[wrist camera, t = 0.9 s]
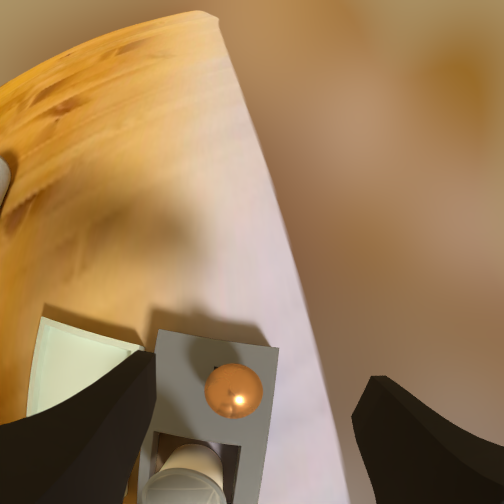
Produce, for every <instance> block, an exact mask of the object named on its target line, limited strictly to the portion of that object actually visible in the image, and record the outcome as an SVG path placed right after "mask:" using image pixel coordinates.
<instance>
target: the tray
mask: <svg viewBox="0 0 504 504" xmlns="http://www.w3.org/2000/svg"><path fill="white" fill-rule="evenodd" d="M144 349H145V347H143V346H140V345H137V344H132V343H128V342H124V341H121V340H117V339H113V338H109V337H106V336H102V335H98V334H95V333H92V332H88V331H85V330H82V329H78V328H75V327H72V326H69V325H66V324H63V323H60V322H57V321H54V320H51V319H48V318H45V317H41V321H40V325H39V330H38V335H37V339H36V345H35V350H34V356H33V362H32V368H31V375H30V383H29V391H28V401H27V414H26V417H29V416H32V415H34V414H37V413H40V412H42V411H45V410H47V409H49V408H51V407H53V406H55V405H57V404H59V403H61V402H63V401H65V400H67V399H68V398H70V397H72V396H73V395H75V394H77V393H78V392H80V391H81V390H83V389H85V388H86V387H88V386H89V385H91V384H92V383H94V382H95V381H97V380H98V379H99V378H101V377H102V376H104V375H105V374H106V373H108V372H109V371H110V370H112V369H113V368H114V367H116V366H117V365H118V364H120V363H121V362H122V361H123V360H125V359H126V358H127V357H129V356H130V355H131V354H132V353H134V352H135V351H137V350H142V351H144ZM127 492H128V483H127V486H126V490H125V495H124V497H125V496H126V495H127Z"/></svg>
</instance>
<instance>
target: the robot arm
mask: <svg viewBox="0 0 504 504" xmlns="http://www.w3.org/2000/svg"><path fill="white" fill-rule="evenodd" d="M156 400H157V391H156V354H155V353H151V352H146V351H142V350H137V351H135V352H134V353H132V354H131V355H130V356H129V357H127V358H126V359H125V360H123V361H122V362H121V363H120V364H118V365H117V366H116V367H114V368H113V369H112V370H110V371H109V372H108V373H106V374H105V375H104V376H102V377H101V378H99V379H98V380H97V381H95V382H94V383H92V384H91V385H89V386H88V387H86V388H85V389H83V390H81V391H80V392H78V393H77V394H75V395H73V396H72V397H70V398H68V399H67V400H65V401H63V402H61V403H59V404H57V405H55V406H53V407H51V408H49V409H47V410H45V411H42V412H40V413H37V414H34V415H32V416H29V417H26V418H23V419H20V420H17V421H15V422H11V423H7V424H3V425H0V504H122V503H123V499H124V495H125V490H126V486H127V483H128V480H129V477H130V474H131V471H132V468H133V466H134V463H135V461H136V458H137V456H138V453H139V451H140V448H141V446H142V443H143V441H144V438H145V436H146V433H147V431H148V428H149V426H150V423H151V419H152V415H153V412H154V408H155V404H156ZM351 417H352V423H353V429H354V433H355V438H356V442H357V444H358V447H359V450H360V453H361V456H362V459H363V461H364V464H365V467H366V469H367V473H368V475H369V478H370V481H371V484H372V487H373V490H374V494H375V498H376V503H377V504H504V447H503V446H500V445H497V444H494V443H492V442H489V441H486V440H484V439H481V438H479V437H477V436H475V435H473V434H471V433H469V432H467V431H465V430H463V429H461V428H460V427H458V426H456V425H454V424H453V423H451V422H449V421H448V420H446V419H445V418H443V417H442V416H441V415H439V414H438V413H436V412H435V411H433V410H432V409H431V408H429V407H428V406H426V405H425V404H424V403H422V402H421V401H420V400H418V399H417V398H416V397H414V396H413V395H412V394H411V393H409V392H408V391H407V390H405V389H404V388H403V387H401V386H400V385H398V384H397V383H396V382H394V381H393V380H391V379H390V378H388V377H387V376H371V377H370V379H369V382H368V384H367V386H366V388H365V390H364V392H363V394H362V396H361V398H360V400H359V402H358V404H357V406H356V408H355V410H354V412H353V414H352V416H351Z"/></svg>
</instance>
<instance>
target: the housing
mask: <svg viewBox="0 0 504 504" xmlns="http://www.w3.org/2000/svg"><path fill="white" fill-rule="evenodd" d="M154 353H155V354H156V391H157V400H156V404H155V408H154V412H153V415H152V419H151V423H150V426H149V428H148V431H147V433H146V436H145V438H144V441H143V443H142V446H141V453H140V464H139V476H138V492H137V504H143V503H142V491H143V488H144V486H145V484H146V483H147V482H148V480H149V479H150V478H151V477H152V476H153V475H154V474H155V471H156V461H157V451H158V442H159V434H160V432H162V433H166V434H170V435H175V436H180V437H185V438H190V439H196V440H201V441H208V442H214V443H221V444H229V445H238V446H239V447H238V454H237V461H236V468H235V475H234V482H233V489H232V496H231V503H227V504H258V498H259V492H260V486H261V480H262V474H263V468H264V461H265V454H266V448H267V441H268V434H269V426H270V419H271V412H272V404H273V396H274V388H275V380H276V371H277V363H278V354H279V348H276V347H267V346H259V345H251V344H244V343H237V342H230V341H223V340H217V339H211V338H205V337H199V336H193V335H188V334H182V333H177V332H172V331H167V330H162V329H159V330H158V335H157V341H156V346H155V352H154ZM231 363H235V364H242V365H245V366H247V367H249V368H250V369H252V370H253V371H254V372H255V373H256V374H257V375H258V377H259V378H260V380H261V383H262V386H263V396H262V400H261V403H260V405H259V406H258V408H257V409H256V410H255V411H254V412H253V413H251V414H250V415H248V416H246V417H243V418H238V419H230V418H225V417H222V416H220V415H218V414H217V413H215V412H214V411H213V410H212V409H211V408H210V406H209V405H208V403H207V401H206V398H205V393H204V388H205V383H206V380H207V378H208V377H209V375H210V374H211V373H212V372H213V371H214V370H215V367H217V368H218V367H220V366H222V365H225V364H231Z"/></svg>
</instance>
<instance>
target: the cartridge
mask: <svg viewBox="0 0 504 504" xmlns="http://www.w3.org/2000/svg"><path fill="white" fill-rule="evenodd" d="M142 503H143V504H227V503H226V497H225V494H224V492H223V467H222V462H221V460H220V458H219V456H218V455H217V454H216V453H215V452H214V451H213V450H211V449H210V448H208V447H206V446H203V445H199V444H186V445H182V446H180V447H178V448H177V449H175V450H174V451H173V452H172V454H171V455H170V457H169V458H168V460H167V461H166V462H165V464H164V465H163V467H162V468H161V469H160V471H159V472H157V473H156V474H154V475H153V476H152V477H151V478H150V479H149V480H148V482H147V483H146V484H145V486H144V488H143V491H142Z"/></svg>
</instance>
